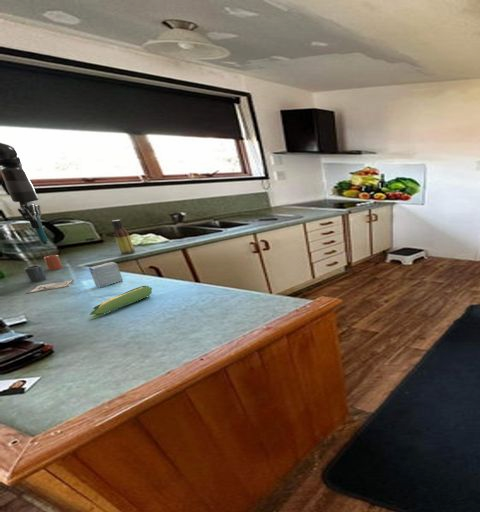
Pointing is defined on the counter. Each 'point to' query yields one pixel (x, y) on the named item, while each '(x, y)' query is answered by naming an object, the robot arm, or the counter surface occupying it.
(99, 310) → the edible corn
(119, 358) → the counter surface
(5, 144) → the robot arm
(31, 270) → the stand
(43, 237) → the marker
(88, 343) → the counter surface
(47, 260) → the pen cup
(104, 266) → the medicine box
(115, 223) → the sauce bottle
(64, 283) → the beige cloth
